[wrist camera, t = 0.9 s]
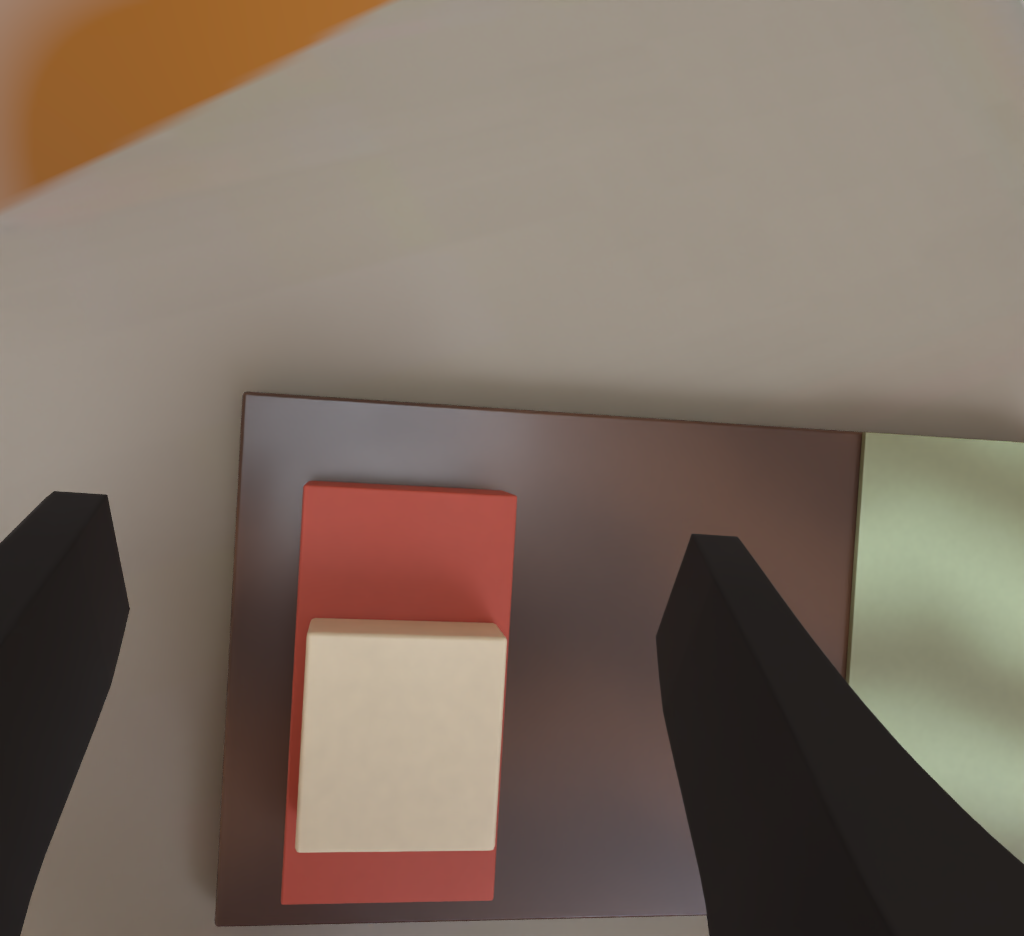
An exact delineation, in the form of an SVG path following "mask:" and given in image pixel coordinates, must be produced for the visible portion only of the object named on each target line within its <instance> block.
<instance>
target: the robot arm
mask: <svg viewBox="0 0 1024 936" xmlns="http://www.w3.org/2000/svg"><path fill="white" fill-rule="evenodd" d="M129 610H130V608H129V603H128V598H127V593H126V588H125V583H124V578H123V573H122V567H121V562H120V557H119V552H118V547H117V542H116V537H115V532H114V527H113V522H112V517H111V512H110V506H109V501H108V496H107V495H103V494H88V493H73V492H57V491H54V492H53V493H51V494H50V495H49V496H48V497H46V498H45V499H44V500H43V501H42V502H41V503H40V504H39V505H38V506H37V507H36V508H35V509H34V510H33V511H32V512H31V513H30V514H29V515H28V516H27V517H26V518H25V519H24V520H23V521H22V522H21V523H20V524H19V525H18V526H17V527H16V528H15V529H14V530H13V531H12V532H11V533H10V534H9V535H8V536H7V537H6V538H5V539H4V540H3V541H2V542H1V543H0V936H20V934H21V931H22V927H23V923H24V920H25V916H26V913H27V909H28V905H29V902H30V898H31V895H32V892H33V889H34V886H35V883H36V880H37V877H38V874H39V871H40V868H41V866H42V863H43V860H44V857H45V854H46V852H47V849H48V846H49V844H50V841H51V839H52V836H53V834H54V831H55V829H56V826H57V823H58V821H59V818H60V816H61V813H62V811H63V808H64V805H65V803H66V800H67V798H68V795H69V793H70V790H71V788H72V785H73V782H74V780H75V777H76V775H77V772H78V770H79V767H80V765H81V762H82V759H83V757H84V754H85V752H86V749H87V747H88V744H89V741H90V739H91V736H92V734H93V731H94V728H95V726H96V723H97V721H98V718H99V715H100V713H101V710H102V708H103V705H104V702H105V700H106V697H107V694H108V692H109V689H110V686H111V683H112V679H113V675H114V671H115V667H116V663H117V660H118V656H119V652H120V648H121V644H122V639H123V635H124V631H125V627H126V622H127V618H128V614H129ZM656 648H657V660H658V671H659V681H660V690H661V699H662V708H663V714H664V718H665V723H666V728H667V732H668V737H669V741H670V746H671V750H672V755H673V759H674V764H675V768H676V773H677V777H678V781H679V786H680V790H681V794H682V799H683V803H684V807H685V812H686V816H687V820H688V825H689V829H690V833H691V838H692V842H693V847H694V851H695V855H696V860H697V864H698V868H699V873H700V878H701V884H702V889H703V894H704V900H705V905H706V911H707V919H708V927H709V935H710V936H1024V864H1023V863H1022V862H1021V861H1020V860H1019V859H1017V858H1016V857H1015V856H1014V855H1013V854H1012V853H1011V852H1010V851H1008V850H1007V849H1006V848H1005V847H1004V846H1003V845H1002V844H1001V843H999V842H998V841H997V840H996V839H995V838H994V837H993V836H991V835H990V834H989V833H988V832H987V831H986V830H985V829H984V828H983V827H982V826H981V825H980V824H979V823H978V822H977V821H975V820H974V819H973V818H972V817H971V816H970V815H969V814H968V813H967V812H966V811H965V810H964V809H963V808H962V807H961V806H960V805H959V804H958V803H957V802H956V801H955V800H954V799H953V798H952V797H951V796H950V795H949V794H948V793H947V792H946V791H945V790H944V789H943V788H942V787H941V786H940V785H939V784H938V783H937V782H936V781H935V780H934V779H933V778H932V777H931V776H930V775H929V774H928V773H927V772H926V771H925V770H924V769H923V768H922V767H921V766H920V765H919V764H918V763H917V762H916V761H915V760H914V759H913V757H912V756H911V755H910V754H909V753H908V752H907V751H906V750H905V749H904V748H903V747H902V746H901V745H900V744H899V742H898V741H897V740H896V739H895V738H894V737H893V736H892V735H891V733H890V732H889V731H888V730H887V729H886V728H885V727H884V725H883V724H882V723H881V722H880V721H879V720H878V718H877V717H876V716H875V715H874V714H873V713H872V712H871V710H870V709H869V708H868V707H867V706H866V705H865V704H864V702H863V701H862V700H861V699H860V697H859V696H858V695H857V694H856V693H855V691H854V690H853V689H852V688H851V687H850V685H849V684H848V683H847V682H846V680H845V679H844V678H843V677H842V675H841V674H840V673H839V672H838V670H837V669H836V668H835V666H834V665H833V664H832V663H831V661H830V660H829V659H828V658H827V656H826V655H825V654H824V652H823V651H822V650H821V649H820V647H819V646H818V645H817V644H816V642H815V641H814V640H813V638H812V637H811V636H810V634H809V633H808V632H807V630H806V629H805V628H804V626H803V625H802V624H801V622H800V621H799V620H798V618H797V617H796V616H795V614H794V613H793V612H792V610H791V609H790V607H789V606H788V605H787V603H786V602H785V601H784V599H783V598H782V597H781V595H780V594H779V592H778V591H777V590H776V588H775V587H774V585H773V584H772V583H771V581H770V580H769V579H768V577H767V576H766V574H765V573H764V572H763V570H762V569H761V567H760V566H759V565H758V563H757V562H756V561H755V559H754V558H753V556H752V555H751V554H750V552H749V551H748V550H747V548H746V547H745V546H744V544H743V543H742V542H741V540H740V539H739V538H738V537H736V536H721V535H706V534H691V537H690V540H689V543H688V546H687V548H686V551H685V554H684V557H683V560H682V563H681V566H680V568H679V571H678V574H677V577H676V580H675V583H674V586H673V588H672V591H671V594H670V597H669V600H668V603H667V606H666V608H665V611H664V614H663V617H662V620H661V623H660V626H659V628H658V631H657V634H656Z"/></svg>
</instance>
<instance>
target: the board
mask: <svg viewBox="0 0 1024 936" xmlns="http://www.w3.org/2000/svg"><path fill="white" fill-rule="evenodd" d="M308 481H328V482H348V483H367V484H387V485H406V486H425V487H445V488H464V489H484V490H502V491H505V492H508V493H510V494H513V495H516V496H517V510H516V527H515V544H514V561H513V578H512V595H511V612H510V628H509V645H508V662H507V679H506V696H505V713H504V730H503V746H502V763H501V780H500V797H499V814H498V831H497V848H496V864H495V881H494V898H493V900H491V901H442V902H392V903H341V904H291V905H283V904H281V888H282V870H283V851H284V833H285V815H286V796H287V778H288V759H289V741H290V722H291V704H292V686H293V667H294V649H295V630H296V612H297V593H298V575H299V557H300V538H301V520H302V501H303V487H304V485H305V484H306V483H307V482H308ZM691 534H706V535H721V536H736V537H738V538H739V539H740V540H741V542H742V543H743V544H744V546H745V547H746V548H747V550H748V551H749V552H750V554H751V555H752V556H753V558H754V559H755V561H756V562H757V563H758V565H759V566H760V567H761V569H762V570H763V572H764V573H765V574H766V576H767V577H768V579H769V580H770V581H771V583H772V584H773V585H774V587H775V588H776V590H777V591H778V592H779V594H780V595H781V597H782V598H783V599H784V601H785V602H786V603H787V605H788V606H789V607H790V609H791V610H792V612H793V613H794V614H795V616H796V617H797V618H798V620H799V621H800V622H801V624H802V625H803V626H804V628H805V629H806V630H807V632H808V633H809V634H810V636H811V637H812V638H813V640H814V641H815V642H816V644H817V645H818V646H819V647H820V649H821V650H822V651H823V652H824V654H825V655H826V656H827V658H828V659H829V660H830V661H831V663H832V664H833V665H834V666H835V668H836V669H837V670H838V672H839V673H840V674H841V675H842V677H843V678H844V679H845V680H846V682H847V683H848V684H849V685H850V687H851V688H852V689H853V690H854V691H855V693H856V694H857V695H858V696H859V697H860V699H861V700H862V701H863V702H864V704H865V705H866V706H867V707H868V708H869V709H870V710H871V712H872V713H873V714H874V715H875V716H876V717H877V718H878V720H879V721H880V722H881V723H882V724H883V725H884V727H885V728H886V729H887V730H888V731H889V732H890V733H891V735H892V736H893V737H894V738H895V739H896V740H897V741H898V742H899V744H900V745H901V746H902V747H903V748H904V749H905V750H906V751H907V752H908V753H909V754H910V755H911V756H912V757H913V759H914V760H915V761H916V762H917V763H918V764H919V765H920V766H921V767H922V768H923V769H924V770H925V771H926V772H927V773H928V774H929V775H930V776H931V777H932V778H933V779H934V780H935V781H936V782H937V783H938V784H939V785H940V786H941V787H942V788H943V789H944V790H945V791H946V792H947V793H948V794H949V795H950V796H951V797H952V798H953V799H954V800H955V801H956V802H957V803H958V804H959V805H960V806H961V807H962V808H963V809H964V810H965V811H966V812H967V813H968V814H969V815H970V816H971V817H972V818H973V819H974V820H975V821H977V822H978V823H979V824H980V825H981V826H982V827H983V828H984V829H985V830H986V831H987V832H988V833H989V834H990V835H991V836H993V837H994V838H995V839H996V840H997V841H998V842H999V843H1001V844H1002V845H1003V846H1004V847H1005V848H1006V849H1007V850H1008V851H1010V852H1011V853H1012V854H1013V855H1014V856H1015V857H1016V858H1017V859H1019V860H1020V861H1021V862H1022V863H1023V864H1024V442H1010V441H995V440H980V439H965V438H949V437H934V436H919V435H904V434H889V433H873V432H852V431H837V430H822V429H806V428H791V427H776V426H761V425H746V424H730V423H715V422H700V421H685V420H670V419H654V418H639V417H624V416H609V415H593V414H578V413H563V412H548V411H533V410H517V409H502V408H487V407H472V406H457V405H441V404H426V403H411V402H396V401H381V400H365V399H350V398H335V397H320V396H305V395H289V394H274V393H259V392H244V393H243V397H242V416H241V435H240V454H239V473H238V492H237V511H236V530H235V549H234V568H233V587H232V605H231V624H230V643H229V662H228V681H227V700H226V719H225V738H224V757H223V776H222V795H221V814H220V833H219V852H218V871H217V890H216V909H215V925H216V926H218V927H221V926H265V925H308V924H351V923H394V922H437V921H480V920H523V919H566V918H610V917H653V916H696V915H707V911H706V905H705V900H704V894H703V889H702V884H701V878H700V873H699V868H698V864H697V860H696V855H695V851H694V847H693V842H692V838H691V833H690V829H689V825H688V820H687V816H686V812H685V807H684V803H683V799H682V794H681V790H680V786H679V781H678V777H677V773H676V768H675V764H674V759H673V755H672V750H671V746H670V741H669V737H668V732H667V728H666V723H665V718H664V714H663V708H662V699H661V690H660V681H659V671H658V660H657V648H656V634H657V631H658V628H659V626H660V623H661V620H662V617H663V614H664V611H665V608H666V606H667V603H668V600H669V597H670V594H671V591H672V588H673V586H674V583H675V580H676V577H677V574H678V571H679V568H680V566H681V563H682V560H683V557H684V554H685V551H686V548H687V546H688V543H689V540H690V537H691Z"/></svg>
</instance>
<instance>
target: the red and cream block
mask: <svg viewBox="0 0 1024 936" xmlns="http://www.w3.org/2000/svg"><path fill="white" fill-rule="evenodd" d="M516 510H517V496H516V495H513V494H510V493H508V492H505V491H502V490H484V489H464V488H445V487H425V486H406V485H387V484H367V483H348V482H328V481H308V482H307V483H306V484H305V485H304V487H303V501H302V520H301V538H300V557H299V575H298V593H297V612H296V630H295V649H294V667H293V686H292V704H291V722H290V741H289V759H288V778H287V796H286V815H285V833H284V851H283V870H282V888H281V904H283V905H291V904H341V903H392V902H442V901H491V900H493V898H494V881H495V864H496V848H497V831H498V814H499V797H500V780H501V763H502V746H503V730H504V713H505V696H506V679H507V662H508V645H509V628H510V612H511V595H512V578H513V561H514V544H515V527H516Z"/></svg>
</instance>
